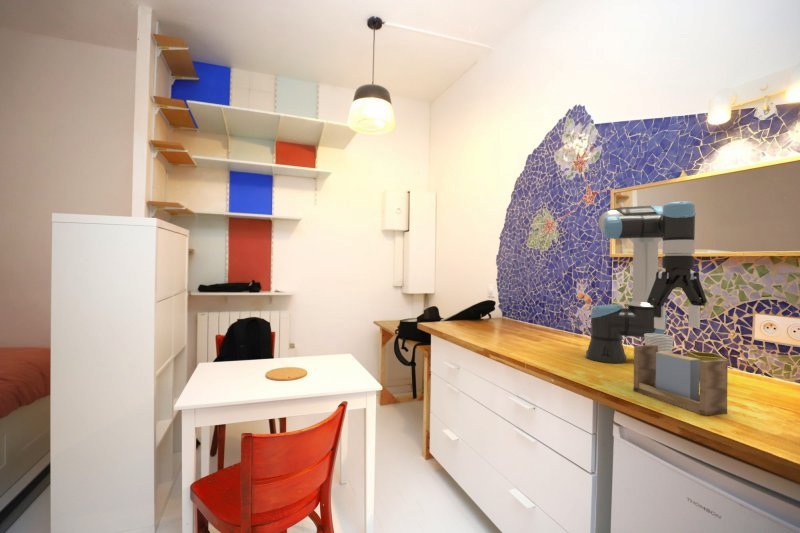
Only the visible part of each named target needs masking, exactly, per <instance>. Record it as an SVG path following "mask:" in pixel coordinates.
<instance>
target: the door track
mask: <svg viewBox="0 0 800 533" xmlns="http://www.w3.org/2000/svg"><path fill="white" fill-rule="evenodd" d="M656 352H658V346H656V345H645V344H644V345H633V392H636V393H639V394H642V395H645V396H647V395H648V396H647V397H650V398H653V397H654V399H656V400H659V401H662V402H664V401H665V403H667V402H668V404H670V403H671V404H670V405H673V404H674V405H673V406H676V407H678V406H679V407H678V408H681V407H682V409H684V408H685V409H684V410H687V409H688V410H687V411H690V412H692V411H693V413H695V414H699V415H701V416H704V417H710V416H717V415H723V414H728V373H729V372H728V368H729V367H728V364H729V363H728V359H727V360H722V359H719V360H705V361H700V380H699V402H698V401H695V400H692V399H689V398H686V397H683V396H680V395H676V394H673V393H670V392H667V391H664V390H661V389H658V388H656Z"/></svg>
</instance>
